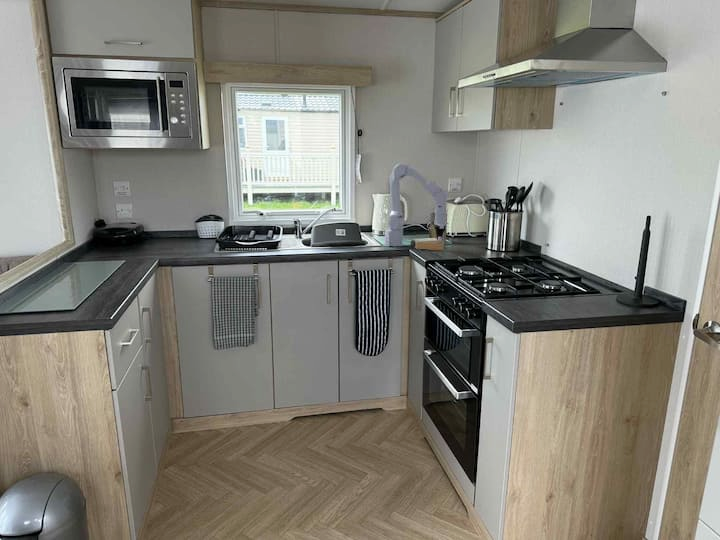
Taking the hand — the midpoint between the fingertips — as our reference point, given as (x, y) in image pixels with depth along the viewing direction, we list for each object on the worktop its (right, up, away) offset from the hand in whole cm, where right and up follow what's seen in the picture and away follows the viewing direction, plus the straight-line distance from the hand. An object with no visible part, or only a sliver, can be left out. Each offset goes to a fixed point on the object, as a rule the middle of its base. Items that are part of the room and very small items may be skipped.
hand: (439, 240), depth 269 cm
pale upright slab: (-6, -3, +7) cm, 10 cm away
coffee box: (+3, 0, +22) cm, 22 cm away
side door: (-5, -5, 0) cm, 7 cm away
